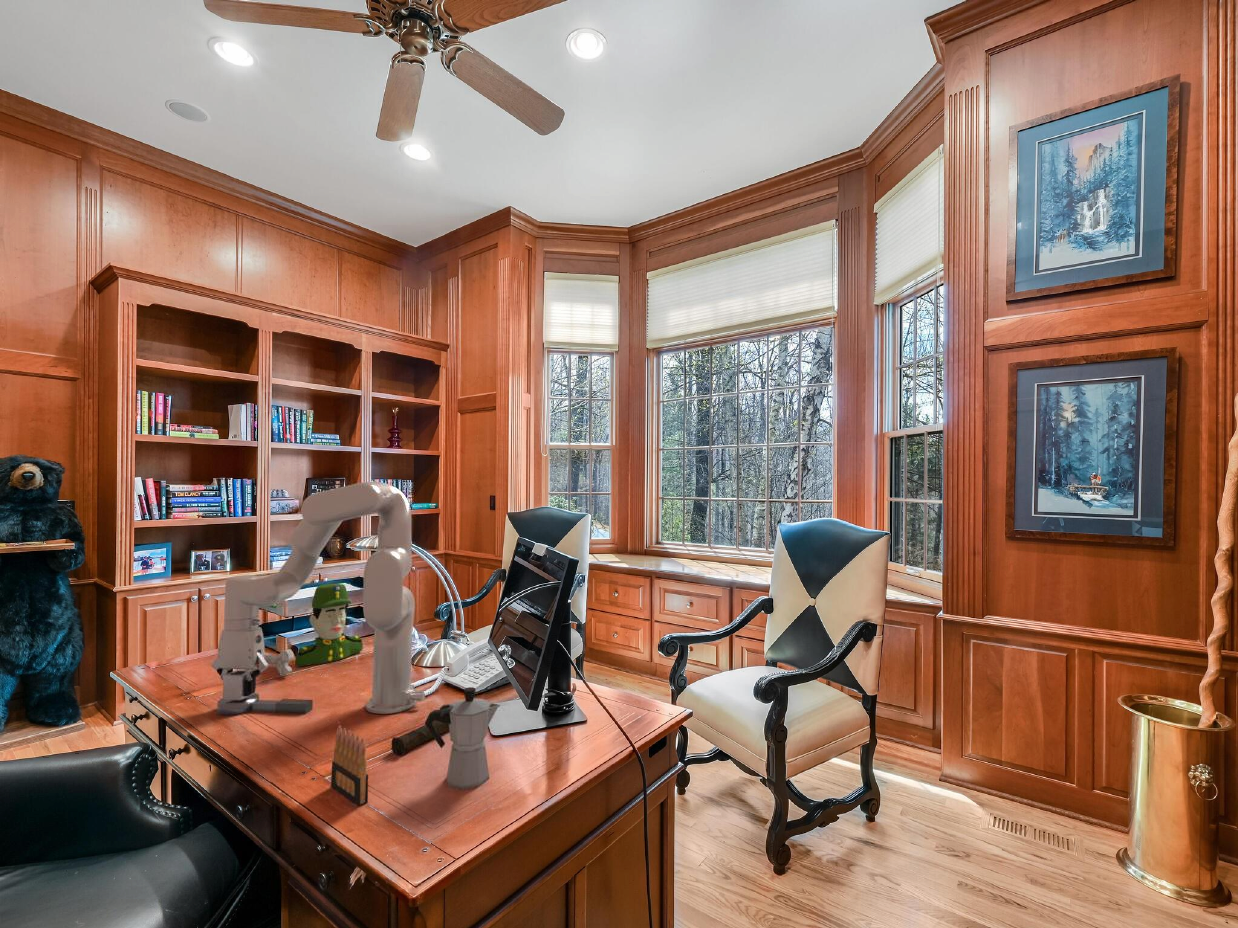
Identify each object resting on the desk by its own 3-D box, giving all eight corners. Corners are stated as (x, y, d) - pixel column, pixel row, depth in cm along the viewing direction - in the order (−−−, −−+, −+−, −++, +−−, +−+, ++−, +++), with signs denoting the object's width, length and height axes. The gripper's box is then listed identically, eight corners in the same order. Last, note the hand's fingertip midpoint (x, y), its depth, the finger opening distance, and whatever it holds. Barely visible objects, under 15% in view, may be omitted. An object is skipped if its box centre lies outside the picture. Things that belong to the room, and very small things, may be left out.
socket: (254, 692, 150) (255, 669, 150) (241, 699, 145) (242, 676, 145) (236, 691, 150) (237, 669, 151) (222, 699, 146) (223, 675, 146)
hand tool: (401, 758, 123) (402, 737, 124) (389, 753, 126) (390, 732, 126) (467, 728, 139) (468, 708, 140) (456, 723, 142) (456, 705, 142)
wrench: (255, 667, 188) (295, 677, 170) (249, 669, 187) (288, 678, 169) (255, 642, 189) (294, 649, 171) (249, 644, 188) (288, 651, 169)
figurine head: (304, 671, 176) (306, 590, 177) (287, 664, 183) (289, 586, 184) (371, 655, 194) (373, 581, 195) (353, 648, 201) (355, 577, 202)
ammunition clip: (368, 802, 106) (370, 737, 107) (358, 806, 105) (360, 741, 105) (339, 783, 113) (341, 722, 113) (330, 787, 111) (332, 725, 112)
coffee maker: (495, 762, 122) (497, 677, 123) (503, 782, 114) (505, 692, 114) (422, 774, 116) (424, 686, 117) (424, 797, 108) (427, 701, 109)
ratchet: (319, 704, 151) (319, 683, 151) (298, 718, 142) (298, 696, 142) (234, 701, 153) (234, 680, 153) (208, 715, 144) (209, 693, 144)
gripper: (282, 621, 152) (280, 689, 151) (220, 619, 153) (218, 687, 152) (263, 628, 144) (260, 700, 144) (198, 626, 145) (196, 698, 145)
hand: (239, 693), depth 148 cm, fingers closed on socket, 5 cm apart
